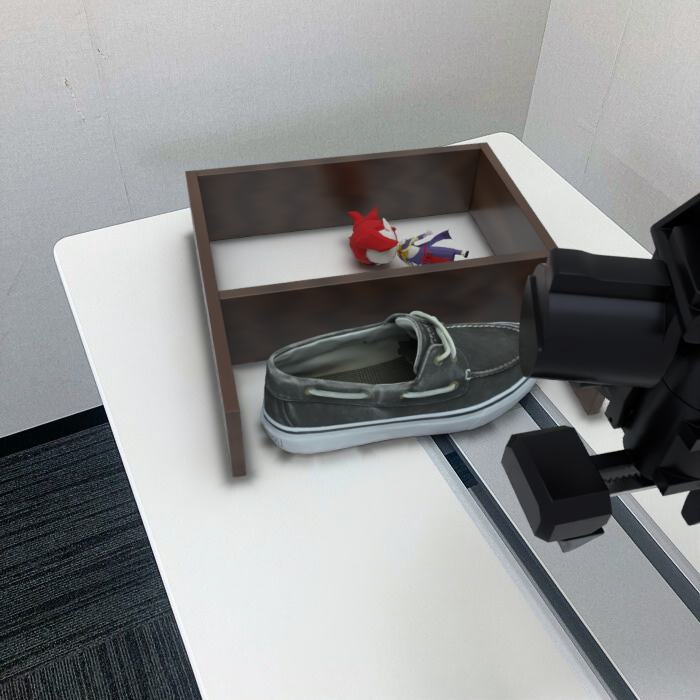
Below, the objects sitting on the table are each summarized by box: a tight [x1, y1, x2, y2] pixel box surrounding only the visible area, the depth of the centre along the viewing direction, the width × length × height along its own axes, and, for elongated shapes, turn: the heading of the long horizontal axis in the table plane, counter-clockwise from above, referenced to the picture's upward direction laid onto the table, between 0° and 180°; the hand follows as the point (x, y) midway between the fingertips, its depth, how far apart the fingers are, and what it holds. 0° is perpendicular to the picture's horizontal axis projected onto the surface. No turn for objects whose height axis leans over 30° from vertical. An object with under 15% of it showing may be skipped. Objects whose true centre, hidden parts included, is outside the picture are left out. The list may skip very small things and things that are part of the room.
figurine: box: [348, 206, 470, 267], centre depth 85 cm, size 6×8×15 cm
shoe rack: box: [184, 141, 606, 478], centre depth 78 cm, size 35×35×9 cm
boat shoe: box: [260, 311, 539, 455], centre depth 69 cm, size 10×29×10 cm, turn 113°
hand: (625, 532), depth 50 cm, fingers open, 9 cm apart
